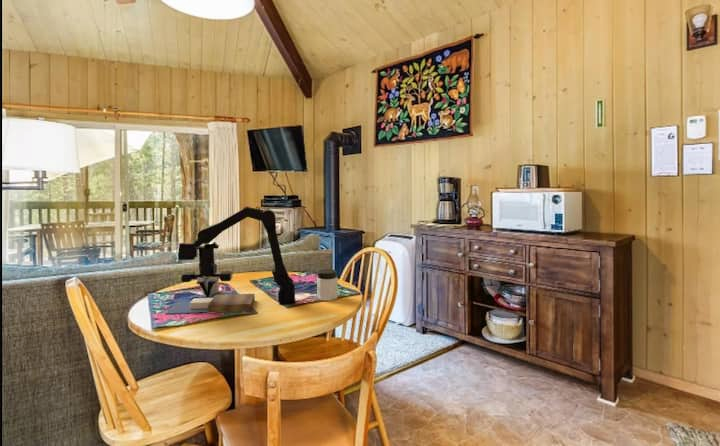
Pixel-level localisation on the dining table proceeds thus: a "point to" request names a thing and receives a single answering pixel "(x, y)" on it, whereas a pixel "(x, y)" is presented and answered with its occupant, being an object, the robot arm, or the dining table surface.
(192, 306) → the beige flat block
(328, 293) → the jar
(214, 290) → the cup
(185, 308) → the felt mat
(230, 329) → the dining table surface
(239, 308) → the cutting board
